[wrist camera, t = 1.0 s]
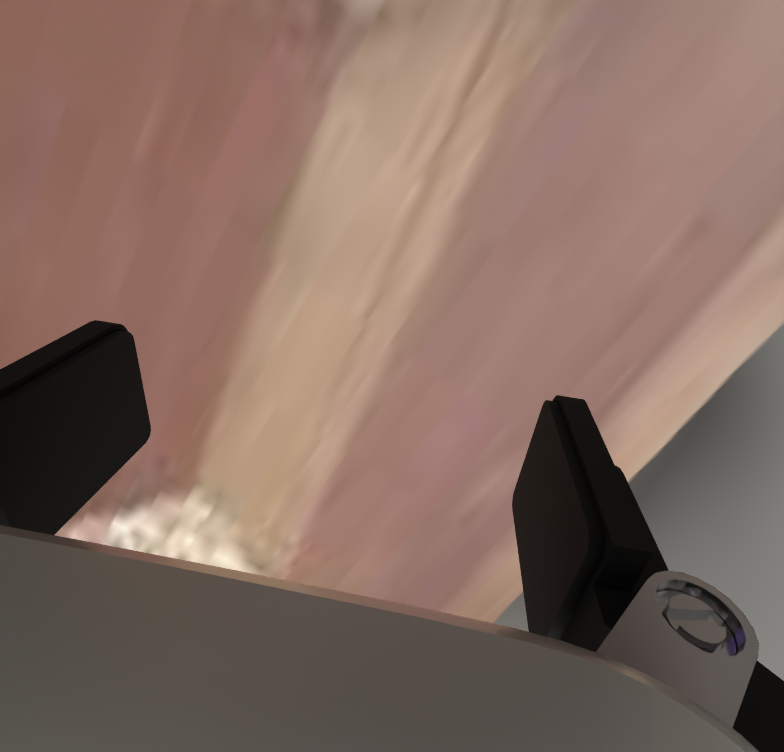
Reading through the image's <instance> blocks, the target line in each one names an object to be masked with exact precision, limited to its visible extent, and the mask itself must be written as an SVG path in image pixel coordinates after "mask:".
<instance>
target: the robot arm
mask: <svg viewBox="0 0 784 752" xmlns="http://www.w3.org/2000/svg"><path fill="white" fill-rule="evenodd" d="M150 432H151V426H150V421H149V415H148V410H147V405H146V400H145V394H144V389H143V384H142V379H141V373H140V368H139V363H138V358H137V352H136V347H135V342H134V338H133V336H132V334H131V333H129V332H128V331H127V329H126V328H125V326H123V325H121V324H116V323H109V322H103V321H96V320H95V321H91V322H89V323H87V324H85V325H84V326H82V327H80V328H78V329H76V330H74V331H72V332H70V333H68V334H67V335H65V336H63V337H61V338H59V339H57V340H55V341H53V342H51V343H50V344H48V345H46V346H44V347H42V348H40V349H38V350H36V351H34V352H32V353H31V354H29V355H27V356H25V357H23V358H21V359H19V360H17V361H15V362H14V363H12V364H10V365H8V366H6V367H4V368H2V369H0V752H784V681H783V680H781V679H780V678H779V677H778V676H776V675H775V674H774V673H772V672H771V671H770V670H769V669H767V668H766V667H765V666H763V665H762V664H761V663H759V662H758V661H757V658H758V650H759V642H758V640H757V637H756V634H755V631H754V628H753V627H752V625H751V624H750V622H749V621H748V619H747V618H746V616H745V615H744V613H743V612H742V611H741V610H740V609H739V608H738V607H737V606H736V605H735V604H734V603H733V602H732V601H731V600H730V599H729V598H728V597H727V596H725V595H724V594H723V593H721V592H720V591H719V590H717V589H716V588H715V587H713V586H711V585H710V584H708V583H706V582H704V581H702V580H701V579H699V578H697V577H694V576H691V575H688V574H685V573H682V572H675V571H669V570H668V568H667V566H666V564H665V562H664V560H663V558H662V555H661V553H660V551H659V549H658V547H657V544H656V542H655V540H654V538H653V536H652V534H651V532H650V529H649V527H648V525H647V523H646V521H645V519H644V516H643V514H642V512H641V510H640V508H639V506H638V504H637V501H636V499H635V497H634V495H633V493H632V491H631V489H630V487H629V484H628V482H627V480H626V478H625V476H624V474H623V472H622V471H621V469H620V468H619V467H617V466H615V465H614V463H613V461H612V459H611V456H610V454H609V452H608V450H607V448H606V445H605V443H604V441H603V439H602V437H601V434H600V432H599V430H598V428H597V425H596V423H595V421H594V419H593V417H592V414H591V412H590V410H589V408H588V405H587V403H586V402H585V400H583V399H577V398H571V397H565V396H558V395H557V396H555V398H554V399H553V401H548V400H546V401H545V402H544V403H543V406H542V409H541V412H540V415H539V418H538V421H537V424H536V427H535V430H534V433H533V436H532V439H531V442H530V445H529V448H528V451H527V454H526V457H525V460H524V463H523V466H522V469H521V472H520V475H519V478H518V481H517V484H516V487H515V490H514V494H513V501H512V509H513V516H514V524H515V531H516V539H517V546H518V554H519V561H520V569H521V576H522V584H523V591H524V599H525V606H526V613H527V621H528V629H529V632H527V631H523V630H519V629H515V628H511V627H507V626H503V625H498V624H493V623H489V622H484V621H480V620H475V619H470V618H466V617H461V616H457V615H452V614H447V613H443V612H438V611H434V610H429V609H424V608H420V607H415V606H411V605H406V604H401V603H396V602H391V601H386V600H381V599H376V598H371V597H366V596H361V595H356V594H351V593H346V592H341V591H336V590H331V589H326V588H321V587H316V586H311V585H306V584H301V583H296V582H291V581H286V580H281V579H276V578H271V577H266V576H261V575H256V574H251V573H246V572H241V571H236V570H230V569H225V568H220V567H215V566H210V565H205V564H200V563H195V562H190V561H184V560H179V559H174V558H169V557H164V556H159V555H154V554H148V553H143V552H138V551H133V550H128V549H123V548H118V547H112V546H107V545H102V544H97V543H92V542H86V541H81V540H76V539H71V538H65V537H60V536H55V534H56V533H57V532H58V530H59V529H60V528H61V527H62V526H63V525H64V524H65V523H66V522H67V521H68V520H69V519H70V518H71V517H72V516H73V515H74V514H75V513H76V512H77V511H78V510H79V509H80V508H81V507H82V506H83V505H84V504H85V503H86V502H87V501H88V500H89V499H90V498H91V497H92V496H93V495H94V494H95V493H96V492H97V491H98V490H99V489H100V488H101V487H102V486H103V485H104V484H105V483H106V482H107V481H108V480H109V479H110V478H111V477H112V476H113V475H114V474H115V473H116V472H117V471H118V470H119V469H120V468H121V467H122V466H123V465H124V464H125V463H126V462H127V461H128V460H129V459H130V458H131V457H132V456H133V455H134V454H135V453H136V452H137V451H138V450H139V449H140V448H141V447H142V446H143V445H144V444H145V443H146V442H147V440H148V438H149V436H150Z"/></svg>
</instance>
